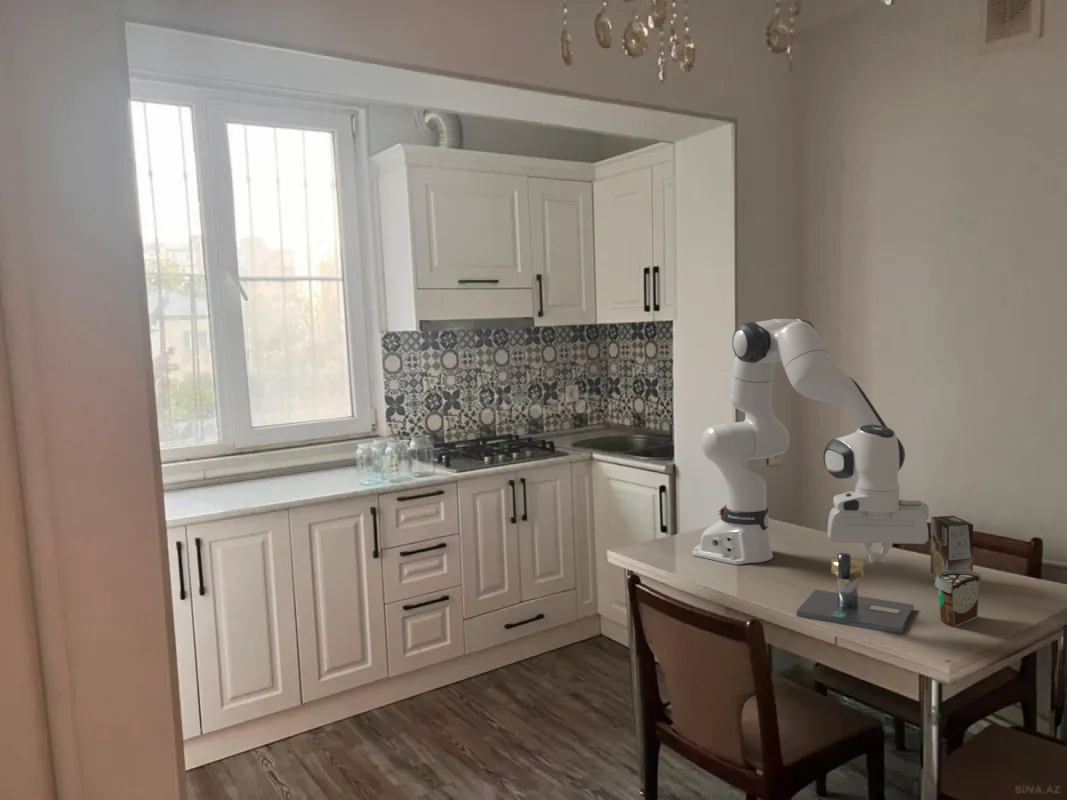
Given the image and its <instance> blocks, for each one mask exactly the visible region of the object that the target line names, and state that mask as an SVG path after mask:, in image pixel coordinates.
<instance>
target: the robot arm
mask: <svg viewBox="0 0 1067 800" xmlns="http://www.w3.org/2000/svg"><path fill="white" fill-rule="evenodd" d="M731 344H732V349H733V352H734V354H735V356H734V361H733V365H732V373H731V380H730V381H731V382H730V392H729V400H730V402H731V404H732V406H733V407H734V408H735V409H737V410H738V411H740V412H742V413H745V416H744V417H745V418H744V420H743V421H737V422H736V421H735V422H734V421H733V422H725V423H724V422H723V423H722V422H721V423H719V424H715V425H712V426H709V427H707V428H706V429H704V432H703V433H702V435H701V439H700V447H701V451H702V453H703V454H704V456H705V457H706V458H707V459H708V460H709V461H711V462H712V463H713V464H715V465H716V466H717V468H718V469H719V471H720V472H721V475H722V477H723V482H724V487H725V495H726V496H725V498H726V500H725V501H726V502H725V503H726V504H725V505H723V506H722V508H720V510H719V511H718V515H719V516H720V519H719V520H718V519H717V521H716V522H714V523H713V524H711V525H710V526H708V527H707V528H706V529H705V530H704V531H703V532H702V534H701V538H700V543H699V544H697V545H696V546H695V547H694V548H693V550H692V555H693V556H695V557H698V558H704V559H708V560H713V561H717V562H723V563H726V564H731V565H736V566H737V565H738V566H740V565H743V564H744V565H745V564H756V563H763V562H768V561H770V560H772V559H773V558H774V555H773V550H772V548H771V543H770V540H769V538H770V537H769V529H768V528H769V521H770V519H769V516H770V515H769V508H768V507H767V483H766V481H765V479H764V478H763V477H762V476H761V475H759V474H758V473H756V472H754V471H751V470H750V468H749V464H748V461H750V460H751V461H753V460H764V459H765V460H766V459H770V458H775V457H777V456H779V455H783V454H784V453H786V451H787V450H788V448H789V447H790V441H791V439H790V433H789V431H788V429H787V427H786V425H785V424H784V423H782V422H781V421H779V419H778V418H777V417H776V415H775V413H774V411H773V405H772V396H773V395H772V393H773V386H774V385H773V383H774V375H775V374H774V373H775V365H776V363H777V362H781V364H782V366H783V367H782V368H783V369H784V371H785V373H786V376H787V378H788V379H787V380H788V381H789V383H790V385H791V386H792V387H793V389H794V390H795V391H796V392H797V393H798V394H799V395H801V396H802V397H805V398H808V399H811V400H816V401H822V402H825V403H827V404H828V403H829V404H831V405H834V406H836V407H838V408H840V409H841V410H842V411H844V412H845V413H846V414H847V415H848V418H850V420H851V421H852V423H853V425H854V426H855V428H856V431H854V432H852V433H849V434H848V435H845V436H839V437H836V438H833V439H831V440H829V441H828V443H827V444H826V445H825V447H824V449H823V450H824V451H823V455H822V456H823V458H822V459H823V464H824V465H823V466H824V467H825V469H826V471H827V472H828V473H829V474H830V475H831V476H833V478H835V479H839V480H851V479H853V480H854V481H855V485H854V486H855V487H854V489H852V490H850V491H846V492H844V493H840V494H836V495H834V496H833V500H832V502H833V505H834V506H833V507H832V508H831V510H830V512H829V516H828V522H827V537H828V539H829V540H830V541H831V542H833V543H838V544H839V543H843V544H844V543H846V544H847V543H849V544H853V543H854V544H863V546H864V548H865V550H866V551H867V552H868V559H869V560H868V561H869V563H871V564H872V563H873V564H875V563H876V564H878V563H879V564H881V563H882V564H885V562H886V556H887V554H888V553H889V551H890V550H891V546H892V545H891V544H898V545H899V544H902V545H903V544H905V545H906V544H909V545H910V544H911V545H915V544H917V545H918V544H919V545H924V544H926V543H927V542H928V541H929V527H928V522H927V520H928V518H929V516H930V515H929V514H930V511H929V506H928V505H927V504H926V503H924V502H923V501H921V500H907V499H906V500H902V499H901V500H900V484H899V480H898V473H899V471H900V470H901V469H902V467H903V465H904V464H905V463H904V462H905V459H906V452H905V448H904V445H903V443H902V442H901V440H900V439H899V438H898V437H897V434H896V432H895V431H894V430H893V429H892V428H890V427H888V426H887V425H886V423H885V421H884V420H883V419H882V417H881V416H880V414H879V413H878V412H877V410H876V408H875V406H874V405H873V403H871V401H870V399H869V398H868V396H867V395H866V393H865V392H864V390H863V388H861V386H860V385H859V384H858V383H857V381H856V380H854V379H853V378H851V376H849V375H848V374H846V373H845V372H844V371H843V370H842V369H841V368H840V367H839V366H838V364H837V363H836V361H834V359H833V358H832V356H831V354H830V352H829V350H828V348H827V346H826V344H825V343H824V341H823V339H822V338H821V336H820V335H819V333H818V332H817V330H816V328H815V326H814V325H813V324H812V322H811V321H809V320H806V319H802V318H792V319H789V318H788V319H787V318H772V319H769V320H761V321H756V322H754V321H750V322H749V321H748V322H747V323H746V322H745V323H743V324H739V326H738V327H737V328H736V329H735V331H734V332H733V335H732V343H731ZM873 544H881V546H882V547H883V548H882V549H881V551H880V552H873V551H872V550H871V548H873Z"/></svg>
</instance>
